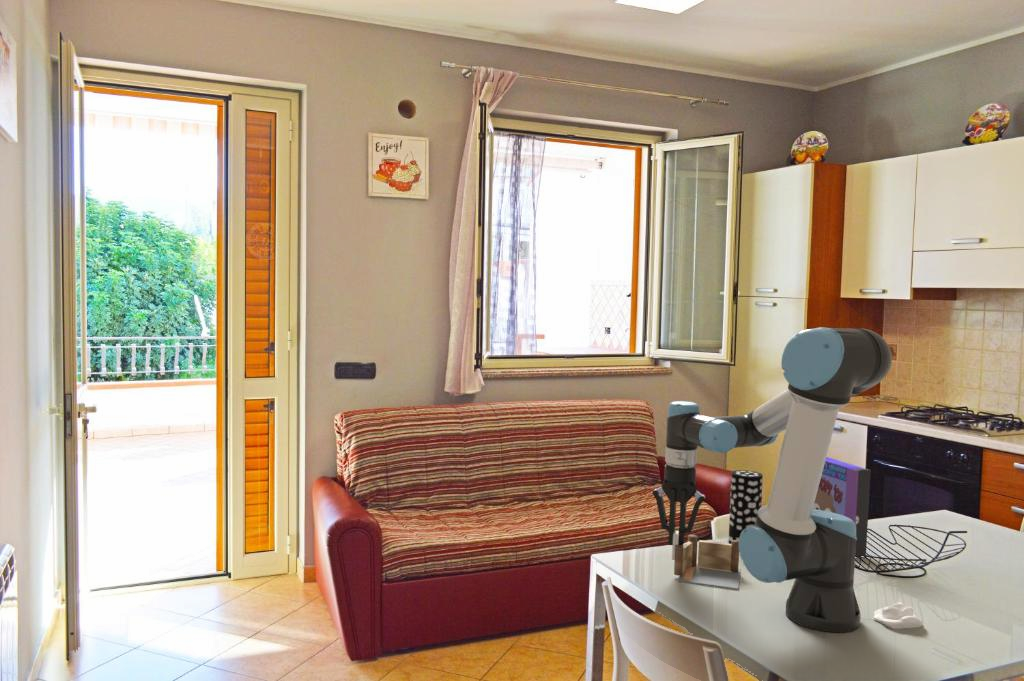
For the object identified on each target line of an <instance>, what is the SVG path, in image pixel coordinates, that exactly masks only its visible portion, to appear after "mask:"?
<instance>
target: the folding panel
mask: <svg viewBox="0 0 1024 681" xmlns="http://www.w3.org/2000/svg"><path fill="white" fill-rule="evenodd" d="M692 551H693V542H690V541H688V540H687V541H686V542H684V544H683V546H682V545H675V560H674V564H673V565H674V567H673V570H674V571H673V574H674V576H678V577H679V576H681V575H682V573H683V572H684V571H686V570H687V569H688V568H689V567H690V566H692Z"/></svg>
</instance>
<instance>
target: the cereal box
mask: <svg viewBox="0 0 1024 681" xmlns="http://www.w3.org/2000/svg"><path fill="white" fill-rule="evenodd" d="M871 473H872V471H871V469H868V468H865V467H861V466H858V465H855V464H852V463H848V462H845V461H841V460H838V459H835V458H832V457H828V456H826V460H825V464H824V468H823V471H822V475H821V479H820V483H819V487H818V491H817V494H816V498H815V502H814V506H813V509H817V510H823V511H828V512H832V513H836V514H840V515H843V516H846V517H848V518H850V519H852V520H853V521H854V523H855V524H856V537H857V540H856V551H855V557H861V556H866V557H867V542H868V541H867V540H868V526H869V525H868V524H869V511H870V510H869V508H870V507H869V506H870V491H871V490H870V489H871V488H870V487H871ZM861 558H862V557H861Z"/></svg>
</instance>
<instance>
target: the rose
mask: <svg viewBox="0 0 1024 681" xmlns="http://www.w3.org/2000/svg"><path fill="white" fill-rule="evenodd" d="M873 619H874V621H876V622H878V623H880V624H883V625H884V624H885V625H884V626H886V627H888V628H890V627H891V628H890V629H913V628H912V627H917V628H921V627H922V625H924V623H923V621H922V620H921V619H920V618H919V617H917V614H916V613H914V609H913V607H912V606H910V605H909V606H908V605H906V604H903V603H902V602H901V601H899V602H898V601H897V602H896V603H894V604H891V605H887V606H885V607H881V608H879V609H876V610H875V611H874V613H873ZM909 627H910V628H909Z"/></svg>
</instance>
